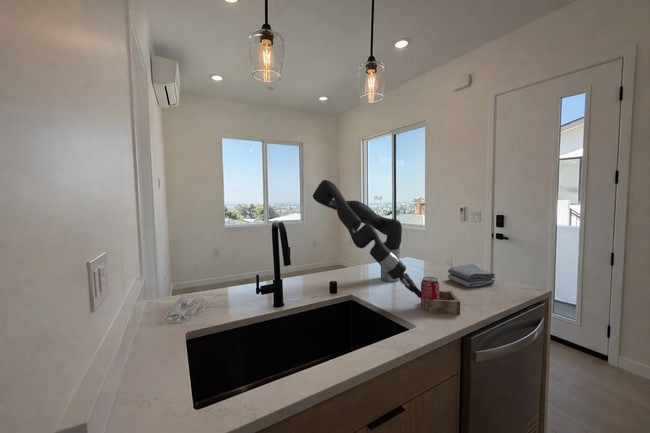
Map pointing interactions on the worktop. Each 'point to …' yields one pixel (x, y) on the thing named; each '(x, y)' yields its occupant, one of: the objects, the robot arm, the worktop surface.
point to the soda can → (429, 290)
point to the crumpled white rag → (180, 313)
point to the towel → (470, 275)
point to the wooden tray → (445, 303)
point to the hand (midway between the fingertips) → (421, 296)
